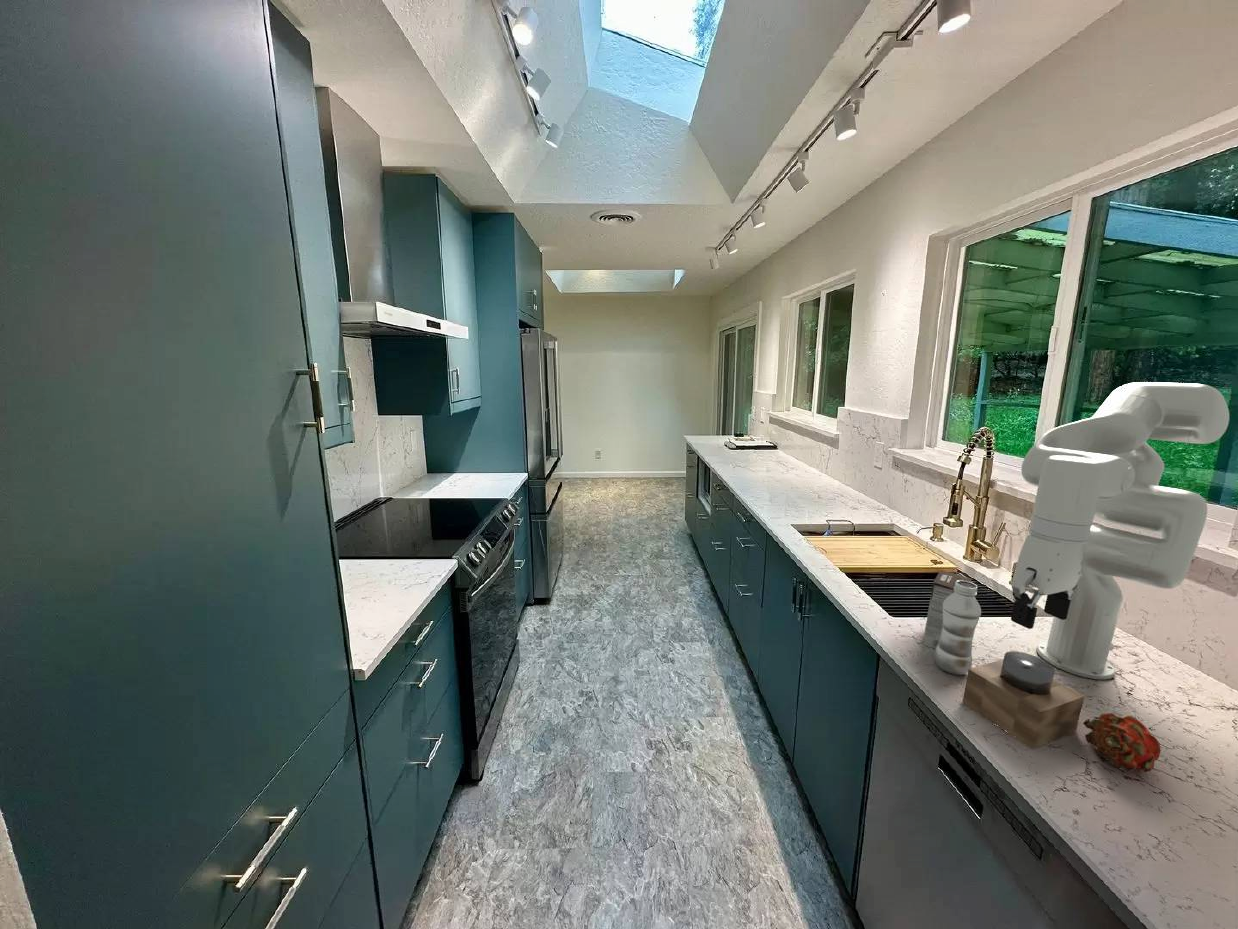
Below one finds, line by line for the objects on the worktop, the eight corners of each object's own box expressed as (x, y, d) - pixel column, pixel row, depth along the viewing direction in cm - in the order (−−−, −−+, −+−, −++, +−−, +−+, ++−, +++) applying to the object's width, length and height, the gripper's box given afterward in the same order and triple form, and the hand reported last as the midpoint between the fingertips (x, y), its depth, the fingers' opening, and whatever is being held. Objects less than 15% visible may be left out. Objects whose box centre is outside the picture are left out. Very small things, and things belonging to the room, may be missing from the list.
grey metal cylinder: (1009, 698, 93) (1020, 648, 90) (1051, 723, 86) (1064, 670, 84) (984, 706, 90) (995, 655, 88) (1026, 733, 84) (1038, 678, 82)
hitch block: (1003, 689, 96) (1010, 656, 94) (1075, 732, 85) (1084, 696, 83) (962, 702, 92) (968, 669, 90) (1032, 749, 81) (1041, 712, 79)
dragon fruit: (1109, 788, 75) (1105, 755, 84) (1182, 787, 70) (1170, 751, 79) (1075, 731, 78) (1075, 705, 87) (1143, 726, 73) (1136, 698, 81)
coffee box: (930, 629, 117) (940, 569, 114) (961, 640, 113) (973, 578, 109) (921, 644, 111) (931, 581, 107) (954, 656, 106) (966, 591, 103)
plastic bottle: (976, 681, 98) (993, 593, 94) (940, 676, 99) (955, 589, 95) (960, 662, 104) (976, 579, 100) (927, 658, 106) (941, 575, 101)
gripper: (1064, 516, 87) (1045, 602, 90) (1001, 526, 81) (983, 618, 85) (1117, 530, 80) (1094, 622, 83) (1052, 542, 74) (1030, 640, 78)
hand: (1038, 620), depth 84 cm, fingers open, 8 cm apart
